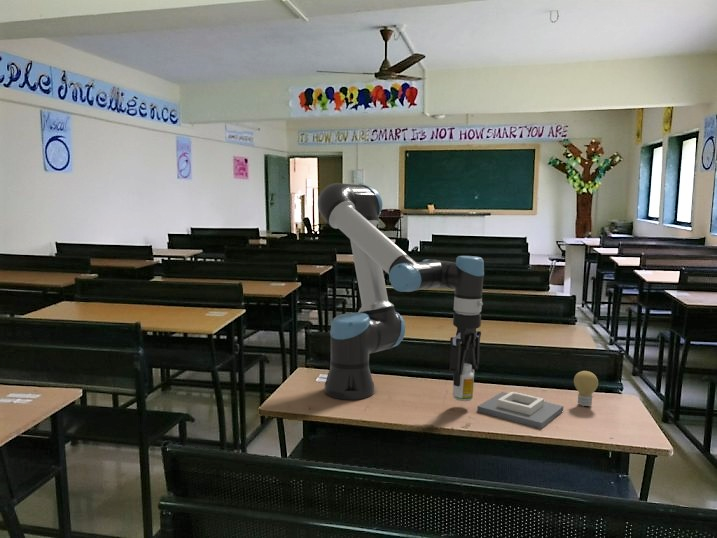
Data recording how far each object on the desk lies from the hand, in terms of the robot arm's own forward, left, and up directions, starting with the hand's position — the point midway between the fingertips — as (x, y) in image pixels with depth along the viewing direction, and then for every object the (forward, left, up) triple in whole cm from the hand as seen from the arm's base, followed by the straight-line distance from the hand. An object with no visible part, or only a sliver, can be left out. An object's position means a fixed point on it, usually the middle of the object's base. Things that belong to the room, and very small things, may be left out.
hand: (462, 393), depth 151 cm
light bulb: (+26, +25, -4) cm, 36 cm away
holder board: (+14, +8, -4) cm, 16 cm away
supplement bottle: (0, 0, -2) cm, 2 cm away
